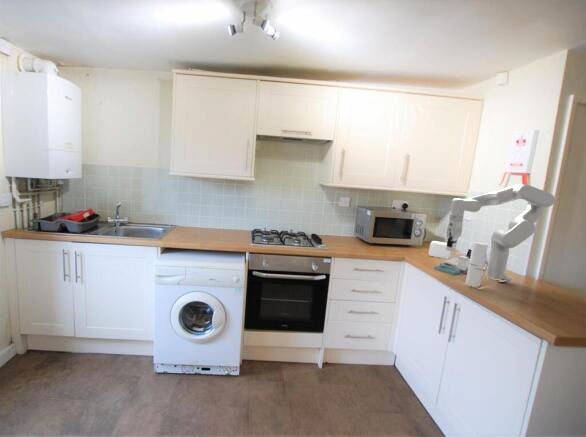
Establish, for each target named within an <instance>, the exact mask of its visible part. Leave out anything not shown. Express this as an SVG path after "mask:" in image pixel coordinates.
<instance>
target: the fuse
mask: <svg viewBox="0 0 586 437" xmlns="http://www.w3.org/2000/svg"><path fill="white" fill-rule="evenodd" d="M469 259H470V256H465V255H459V256H458V264H457V267H458V268H457V269H461V270H466V269H467V264H468V260H469Z"/></svg>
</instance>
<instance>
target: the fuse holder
mask: <svg viewBox="0 0 586 437" xmlns="http://www.w3.org/2000/svg"><path fill="white" fill-rule="evenodd" d="M439 265H445V266H448V267H452V268H455V269H457V268H458V266H457V265H455V264H452V263H448V262H442V263H439ZM458 270H460V273H459V274H461V273H462V275H467V274H466V273H467V272H468V268H466V270H461V269H458Z"/></svg>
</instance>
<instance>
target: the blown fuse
mask: <svg viewBox="0 0 586 437" xmlns="http://www.w3.org/2000/svg"><path fill="white" fill-rule="evenodd" d="M450 236H452V235H450ZM458 238H459V237H453V240H452V241H453V244H452V247H448V246H447V247H446V250H448V251H451V253H452V252H453V253H454V252H455V251H456V247H457V242H456V241H458ZM455 246H456V247H455Z"/></svg>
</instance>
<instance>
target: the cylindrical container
mask: <svg viewBox="0 0 586 437" xmlns="http://www.w3.org/2000/svg"><path fill="white" fill-rule="evenodd" d="M488 246H489V244H488V243H487V242H481V241H473V242H472V246H471V250H470V251H471V252H470V256H469V262H468V267H467V269H468V272H467V274H466V279H465V283H467V284H470V285H474V286H477V287H481V283H482V277H483V272H484V268H485V267H484V266H485V262H486V256H487V252H488Z"/></svg>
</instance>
